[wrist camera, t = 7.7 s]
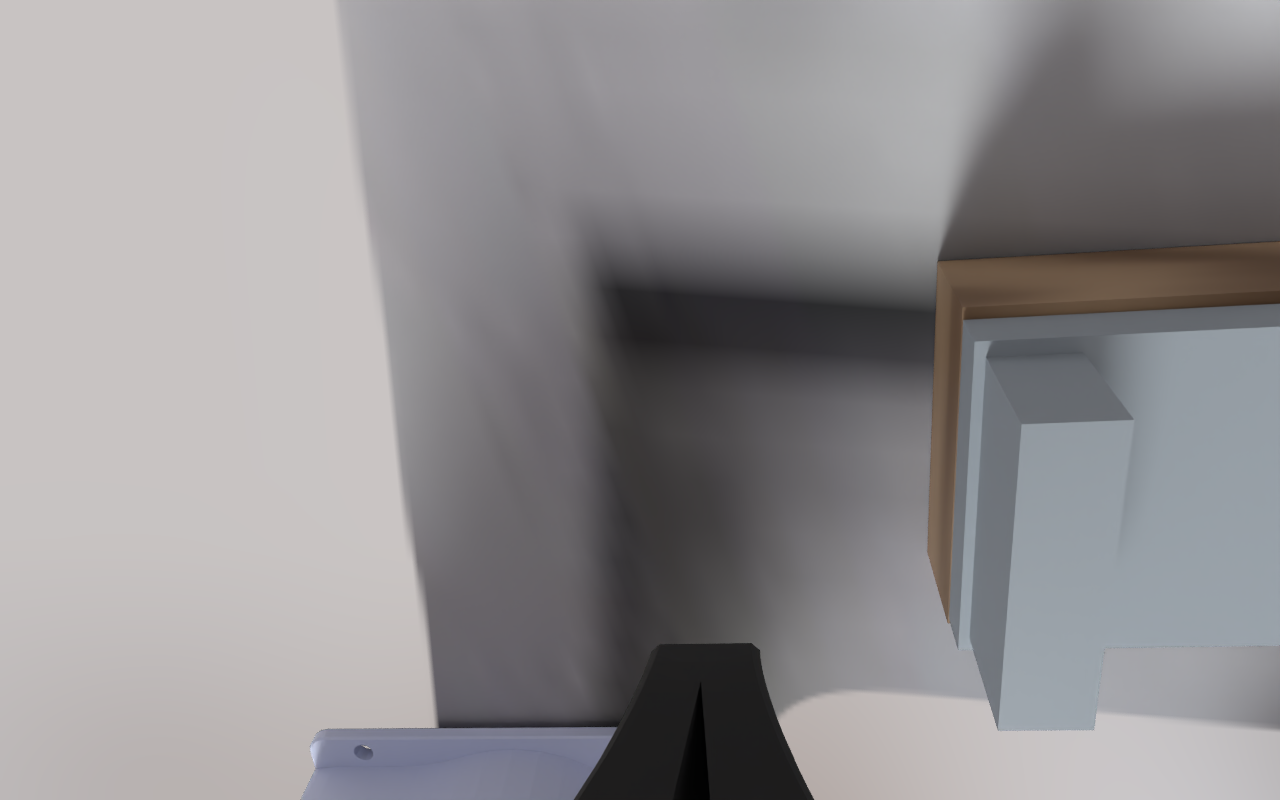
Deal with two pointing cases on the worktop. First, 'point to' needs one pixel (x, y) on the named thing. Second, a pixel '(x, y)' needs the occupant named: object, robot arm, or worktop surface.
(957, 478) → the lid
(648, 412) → the worktop surface
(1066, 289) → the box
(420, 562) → the worktop surface
